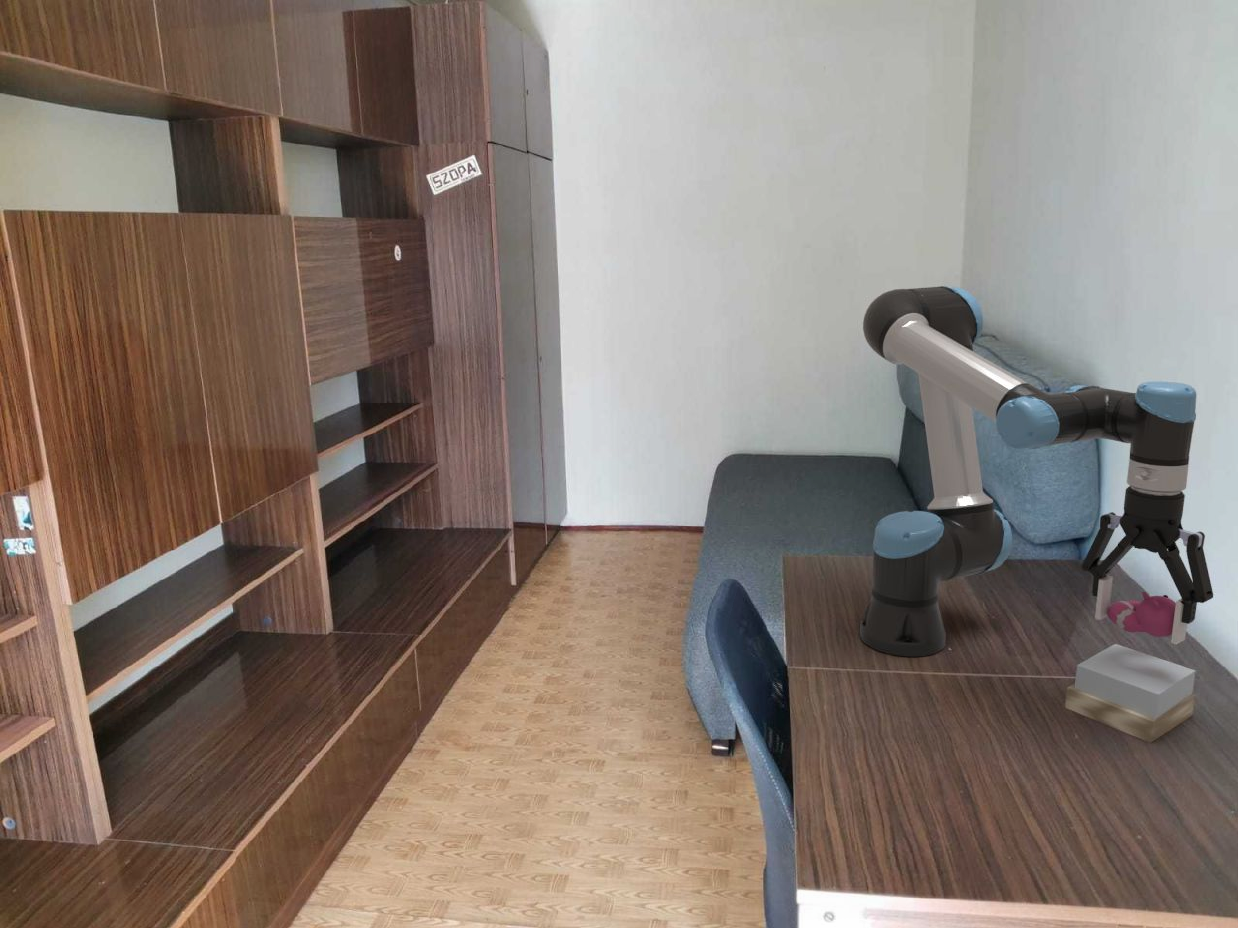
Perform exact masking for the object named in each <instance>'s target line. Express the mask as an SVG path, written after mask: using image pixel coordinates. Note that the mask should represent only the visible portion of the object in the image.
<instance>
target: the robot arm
mask: <svg viewBox="0 0 1238 928" xmlns="http://www.w3.org/2000/svg"><path fill="white" fill-rule="evenodd" d="M864 313H865V314H864V316H863V322H862V325H863V326H862V331H863V335H864V338H865V341H866V342H867V344H868V346H869V347H870V348H871V349H872V350H873V351H874V353H876V354H877V355H879V356H880V357H881V358H883V359H884V360H886V361H887V362H889V363H890V364H893V365H898V366H899V365H900V366H901V365H905V366H906V367H908V368H909V369H911V370H912V371H914V372H915V373H917V374H918V383H919V389H920V395H921V396H920V397H921V404H922V406H921V407H922V411H923V418H924V419H923V420H924V427H925V428H924V429H925V433H926V443H927V448H928V449H927V450H928V457H929V464H930V465H929V466H930V473H931V480H932V489H933V494H934V497H933V499H932V501H931V502H930V503H928V506H927V511H923V510H913V511H908V510H905V511H898V512H894V513H890V514H888V515H886V516H885V517H883V518H881V519H880V520H879V521H878V523H877V524H876V526H875V529H874V539H873V542H872V549H873V555H872V556H873V557H872V559H873V561H872V579H871V580H872V583H871V597H870V600H869V603H868V605H867V607H866V609H865V611H864V613H863V616H862V619H861V622H860V628H859V637H860V639H861V641H862V642H863V643H864V644H865V645H867V646H868V647H870V648H872V649H874V650H876V651H878V652H882V653H885V654H888V655H894V656H900V657H925V656H930V655H934V654H937V653H939V652H940V651H943V649H945V646H946V636H947V633H946V628H945V626H944V622H943V619H942V615H941V614H942V613H941V611H940V606H939V589H940V583H941V582H945V581H950V580H954V579H958V578H964V577H967V576H968V577H969V576H981V575H982V574H985V573H986V572H989V571H992V570H995V569H997V568H999V567H1001V566H1002V565H1003V564H1004V562H1005V561H1006V560H1007V559H1008V557H1009V555H1010V553H1011V550H1012V545H1013V535H1012V534H1013V533H1012V528H1011V525H1010V523H1009V522H1008V520H1007V519H1004V518H1005V516H1004V514H1003V513H1001V512H1000V511H998V510H996V509H995V505H994V500H993V499H992V497H989V496H988V495H987V494H985V492H984V491H983V483H982V474H981V468H980V467H981V466H980V461H979V459H980V458H979V452H978V444H977V437H976V429H975V422H974V413H973V409H975V410H976V411H978V412H979V413H981V414H982V415H984V416H985V417H987V418H988V419H990V420H991V421H993V422H995V426H996V430H997V433H998V435H1000V437H1001V439H1002V441H1003V442H1004V444H1005V445H1007V446H1009V447H1011V448H1015V449H1032V450H1033V449H1035V450H1036V449H1040V448H1044V447H1050V446H1055V445H1062V444H1067V443H1074V442H1082V441H1083V442H1084V441H1088V440H1095V439H1104V440H1111V441H1115V442H1120V443H1124V444H1130V448H1129V460H1128V461H1129V462H1128V467H1127V478H1126V484H1127V485H1129V486H1127V487H1126V488H1125V493H1124V502H1123V503H1124V504H1123V514H1122V515H1117V514H1116V513H1115V512H1107V513H1105V514H1103V515H1101V516H1100V519H1099V529H1098V531H1097V533H1096V535H1095V538H1094V539H1093V542H1092V544H1091V546H1090V547H1089V550H1088V552H1087V554H1086V555H1085V558H1084V560H1083V562H1082V564H1081V569H1082V570H1083V571H1084V572H1088V573H1090V574H1091V575H1092V578H1093V579H1092V580H1093V581H1092V590H1091V593H1092V597H1094V598H1095V597H1096V605H1095V614H1094V619H1095V620H1098V621H1102V620H1103V619H1105V618H1107V617H1108V612H1109V609H1110V607H1111V597H1112V591H1113V590H1112V589H1113V588H1112V587H1113V582H1114V581H1113V580H1114V577H1113V576H1110V575H1108V574H1110V573H1111V572H1110V571H1112V570H1113V569H1114V567H1115V566H1116V565H1117V564H1119V562H1120V561H1121V560H1122V559H1123V558H1124V557H1125V556H1127V554H1128V553H1129V552H1130V550H1131V549H1133V548H1134V549H1139V550H1147V551H1148V552H1150V553H1155V554H1156V553H1157V555H1158V556H1159V558H1160V559H1161V560H1162V561H1163V563H1164V564H1165V566H1166V569H1167V571H1168V572H1169V575H1170V577H1171V578H1172V581H1173V583H1174V585H1175V587H1176V589H1177V591H1178V593H1179V595H1180V597H1181V599H1180V598H1179V599H1178V600H1176V601H1175V603H1176V607H1175V615H1174V623H1173V630H1172V635H1171V640H1170V643H1171V644H1173V645H1178V644H1181V642H1183V641H1186V635H1187V628H1188V625H1190V624H1191V623H1193V622H1194V621H1195V619H1196V614H1197V613H1196V612H1197V605H1198V603H1200V604H1204V603H1205V602H1208V601H1210V600H1211V599H1213V598H1214V591H1213V587H1212V582H1211V579H1210V578H1211V577H1210V573H1209V569H1208V564H1207V560H1206V554H1205V551H1204V544H1205V537H1206V535H1205V533H1204V532H1202V531H1197V532H1193V531H1189V530H1186V529H1184V528H1183V525H1182V518H1183V514H1184V506H1185V497H1186V495H1185V494H1184V492H1183V491H1185V490H1186V489H1187V483H1188V474H1189V463H1190V452H1191V447H1192V446H1191V444H1192V437H1193V432H1194V427H1195V421H1196V420H1197V413H1196V409H1197V407H1196V404H1197V391H1196V389H1195V388H1194V387H1193V386H1192V385H1190V384H1186V383H1182V382H1181V383H1180V382H1170V381H1146V382H1145V381H1144V382H1142V383H1140V384H1138V386H1137V388H1136V392H1129V391H1123V390H1116V389H1110V388H1107V387H1106V388H1105V387H1100V386H1099V385H1082V384H1081V385H1078V384H1077V385H1074V386H1071V387H1069V388H1068V389H1067V390H1066V391H1063V392H1060V393H1047V392H1045V391H1043V390H1041V389H1039V388H1037V387H1035V386H1034V385H1032V384H1030V383H1028V382H1026V381H1025V380H1023V379H1021V378H1020V377H1018V376H1016V375H1014V374H1013V373H1012V372H1009V371H1008V370H1005V368H1003V367H1001V366H999V365H997V364H995V363H994V362H992V361H990V360H989V359H987V358H985V357H983V356H981V355H980V354H978V353H976V352H975V351H974V348H973V347H974V346H973V345H974V344H975V343H976V342H977V341H978V340H979V339H980V337H981V335H980V333H981V332H982V331H983V329H984V315H983V311H982V308H981V306H980V304H979V302H978V301H977V299H976V298H975V296H974V295H973V294H971V293H970V292H968V290H966V289H964V288H961V287H956V286H945V285H941V286H930V287H929V286H928V287H918V288H915V287H914V288H897V289H892V290H888V291H885V292H882V293H881V294H880V295H879V296H877V297H876V298H874V300H873V301H871V303H870V304H869V306H868V307H867V309H866V311H865V312H864ZM1119 525H1120V528H1121V529H1122V531H1123V533H1124V534H1125V535H1124V536H1123V538H1121V540H1120V541H1119V542H1118V543H1117V545H1116V546H1115V547H1114V548H1113V550H1111V552H1110V553H1109V554H1108V555H1107V556H1106V557H1105V558H1104V559H1103V560H1102V561H1101V559H1102V557H1103V554H1104V552H1105V551H1106V549H1107V547H1108V545H1109V543H1110V540H1111V539H1112V537H1113V534H1114V533H1115V529H1118V527H1119ZM1179 539H1182V543H1183V546H1184V547H1186V549H1185V551H1186V552H1185V553H1186V557H1187V562H1188V566H1189V567H1188V568H1189V570H1190V574H1189V572H1188V569H1187V568H1186V566H1185V563H1184V561H1183V559H1182V556H1180V549H1179V547H1178V545H1177V543H1176V542H1177V541H1178V540H1179ZM1100 561H1101V562H1100ZM1099 562H1100V563H1099Z"/></svg>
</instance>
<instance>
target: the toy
mask: <svg viewBox="0 0 1238 928" xmlns="http://www.w3.org/2000/svg"><path fill="white" fill-rule="evenodd" d="M1141 594H1142V597H1143V600H1142V601H1137V600H1126V601H1125V600H1119V601H1118V600H1117V601H1115V602H1114V603H1112V604H1111V605H1110V608H1109V612H1108V616H1107V617H1108V619H1109V620H1110V621H1111V622H1112V623H1113V624H1114V625H1116V626H1117V627H1118V628H1120V629H1122V630H1124V631H1125V632H1127V633H1146V634H1148V635H1150V636H1153V637H1156V638H1165V637H1170V636H1172V630H1173V623H1174V615H1175V607H1176V601H1175V600H1174V599H1171V598H1169V596H1168V595H1167V594H1163V595H1151V596H1149V595H1148V593H1147V592H1146V591H1143V592H1142V593H1141Z"/></svg>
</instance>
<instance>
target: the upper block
mask: <svg viewBox="0 0 1238 928" xmlns="http://www.w3.org/2000/svg"><path fill="white" fill-rule="evenodd" d="M1195 677H1196V670H1195V669H1192V668H1189V667H1186V666H1184V665H1179V664H1178V663H1174V662H1172V661H1168V660H1165V659H1163V658H1159V657H1156V656H1155V655H1154V656H1153V655H1150V654H1147V653H1145V652H1144V653H1143V652H1141V651H1138V650H1136V649H1132V648H1129V647H1126V646H1123V645H1120V644H1117V643H1114V644H1112V645H1110V646H1109V647H1107V648H1105V649H1104V650H1102V651H1100V652H1098V653H1096V654H1095V655H1092V656H1090V657H1089V658H1087V659H1086V660H1084V661H1082V662H1080V663H1079V664H1076V673H1075V679H1074V681H1075V682H1074V684H1075V689H1077V690H1080V691H1082V692H1085V693H1088V694H1090V695H1093V696H1095V697H1098V698H1101V699H1103V700H1106V701H1108V702H1111V703H1114V704H1116V705H1119V706H1121V707H1124V708H1127V709H1129V710H1132V711H1134V712H1137V713H1140V714H1142V715H1145V716H1148V717H1150V718H1153V719H1157V718H1158V717H1160V716H1161V715H1163V714H1164V713H1166V712H1167V711H1168V710H1170V709H1171V708H1173V707H1174V706H1176V705H1177V704H1179V703H1180V702H1182V701H1183V700H1185V699H1186V698H1187V697H1189V696H1190V695H1192V694H1193V692H1194V684H1195Z"/></svg>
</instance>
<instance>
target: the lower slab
mask: <svg viewBox="0 0 1238 928" xmlns="http://www.w3.org/2000/svg"><path fill="white" fill-rule="evenodd" d="M1065 692H1066V694H1065V704H1064V708H1065V709H1067V710H1070V711H1072V712H1074V713H1077V714H1080V715H1082V716H1085V717H1086V718H1089V719H1092V720H1094V721H1096V722H1099V723H1101V724H1103V725H1105V726H1109V727H1110V728H1114V729H1116V730H1119V731H1121V732H1124V733H1126V734H1128V735H1130V736H1134V737H1136V738H1138V739H1140V740H1141V741H1142V740H1143V741H1145V742H1147V743H1151V744H1152V743H1153V742H1155V741H1156V740H1157V739H1159V738H1161V737H1162V736H1164V734H1167V733H1168V732H1170V731H1171V730H1173V729H1174V728H1175V727H1177V726H1178V725H1180V724H1182V723H1183V722H1185V721H1186V720H1188V719H1189V718H1191V717H1192V716H1193V714H1194V706H1195V700H1196V699H1195V698H1196V694H1193V693H1192V695H1190V696H1189V697H1187V698H1186V699H1185V700H1183V701H1182V702H1180V703H1179V704H1177V705H1176V706H1174V707H1173V708H1171V709H1170V710H1168V711H1167V712H1166V713H1164V714H1163V715H1161V716H1160V717H1158V718H1157V719H1153V718H1150V717H1148V716H1145V715H1142V714H1140V713H1137V712H1134V711H1132V710H1129V709H1127V708H1124V707H1121V706H1119V705H1116V704H1114V703H1111V702H1108V701H1106V700H1103V699H1101V698H1098V697H1095V696H1093V695H1090V694H1088V693H1085V692H1082V691H1080V690H1077V689H1075V683H1073V684H1072V685H1069V686H1068V687H1066V691H1065Z"/></svg>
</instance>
